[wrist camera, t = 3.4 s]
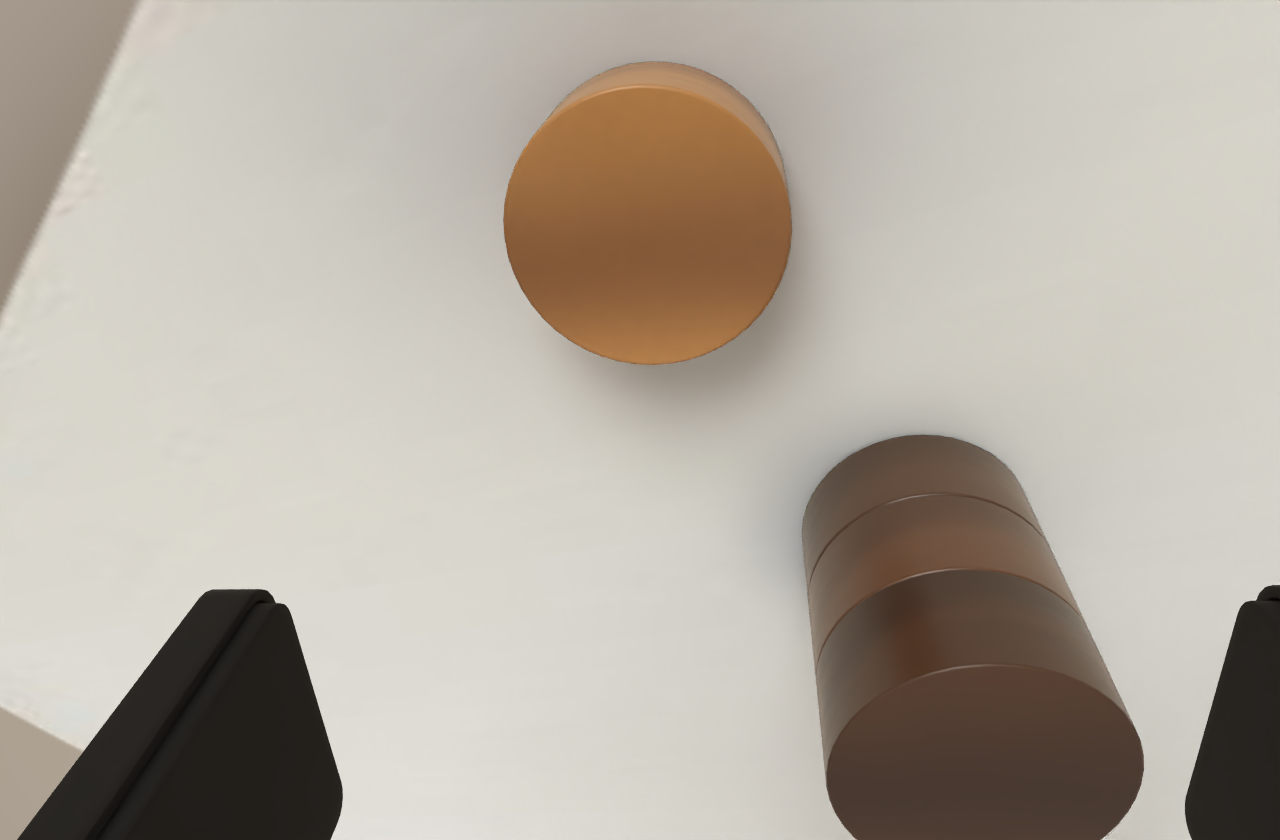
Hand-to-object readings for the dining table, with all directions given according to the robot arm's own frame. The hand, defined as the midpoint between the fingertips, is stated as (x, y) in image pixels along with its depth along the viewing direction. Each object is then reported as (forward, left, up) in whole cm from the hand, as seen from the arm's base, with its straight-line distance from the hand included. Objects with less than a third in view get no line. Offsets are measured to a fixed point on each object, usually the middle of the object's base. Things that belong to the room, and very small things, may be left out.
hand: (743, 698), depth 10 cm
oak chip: (-1, -2, -16) cm, 16 cm away
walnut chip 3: (+9, +5, -10) cm, 15 cm away
